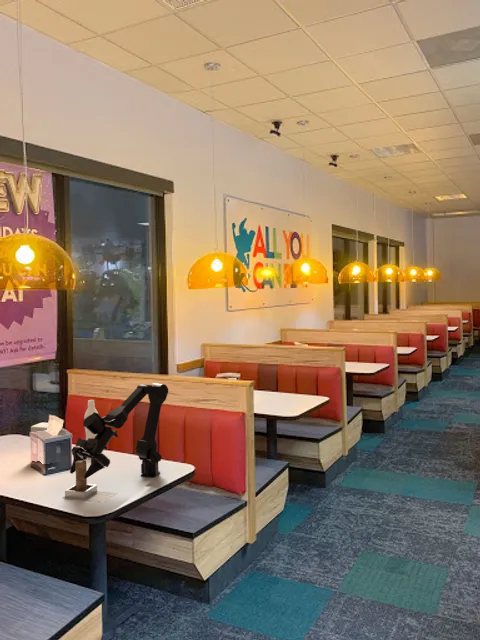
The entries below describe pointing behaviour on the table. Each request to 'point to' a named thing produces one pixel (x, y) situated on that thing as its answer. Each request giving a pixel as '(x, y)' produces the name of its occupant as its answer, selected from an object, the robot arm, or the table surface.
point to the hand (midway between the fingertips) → (77, 475)
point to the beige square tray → (81, 492)
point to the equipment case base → (97, 496)
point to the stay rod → (81, 475)
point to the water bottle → (89, 412)
